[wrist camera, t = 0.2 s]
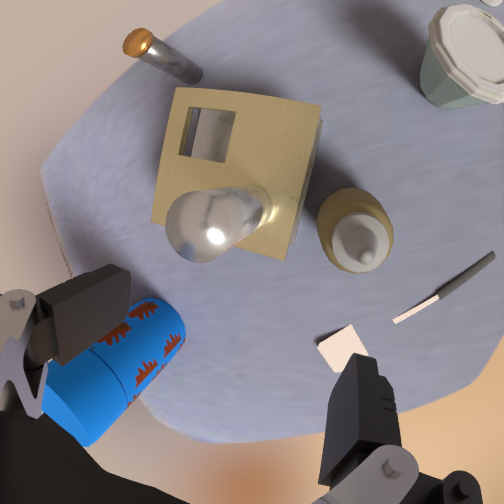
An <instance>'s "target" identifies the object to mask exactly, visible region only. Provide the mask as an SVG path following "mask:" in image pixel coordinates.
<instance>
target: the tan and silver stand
mask: <svg viewBox="0 0 504 504" xmlns="http://www.w3.org/2000/svg"><path fill="white" fill-rule="evenodd" d="M193 108H195V109H201V112H200V117H199V121H198V125H197V130H196V135H195V139H194V144H193V149H192V154H191V157H189V156H183V154H184V149H185V144H186V140H187V135H188V130H189V126H190V121H191V117H192V113H193ZM320 114H321V106H319V105H314V104H310V103H305V102H300V101H295V100H290V99H284V98H278V97H272V96H266V95H259V94H252V93H244V92H236V91H227V90H216V89H203V88H185V87H176V90H175V94H174V98H173V102H172V106H171V111H170V115H169V120H168V124H167V129H166V133H165V138H164V143H163V148H162V154H161V159H160V165H159V170H158V176H157V182H156V189H155V195H154V202H153V209H152V217H151V222H153V223H156V224H160V225H163V226H166V233H167V237H168V240H169V242H170V244H171V246H172V247H173V249H174V250H175V251H176V252H177V253H178V254H179V255H180V256H182V257H183V258H185V259H187V260H189V261H192V262H196V263H205V262H209V261H212V260H214V259H216V258H217V257H218V256H220V255H221V254H223V253H224V252H226V251H227V250H228V249H230V248H231V247H233V246H235V247H238V248H241V249H245V250H248V251H252V252H255V253H259V254H262V255H265V256H269V257H272V258H276V259H279V260H282V261H284V260H285V258H286V255H287V251H288V247H289V244H292V245H293V244H294V241H295V238H296V234H297V230H298V226H299V222H300V218H301V214H302V210H303V206H304V203H305V198H306V194H307V190H308V186H309V182H310V178H311V174H312V170H313V165H314V161H315V157H316V153H317V148H318V144H319V139H320V135H321V131H322V126H323V120H319V118H320Z"/></svg>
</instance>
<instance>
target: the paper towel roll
mask: <svg viewBox="0 0 504 504" xmlns="http://www.w3.org/2000/svg"><path fill="white" fill-rule="evenodd" d="M481 1H482V2H484V3H485V4H487V5H489V6H493V7H495V6H498V5H499V4H500V3H501V2H502V1H503V0H481Z"/></svg>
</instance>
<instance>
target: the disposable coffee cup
mask: <svg viewBox="0 0 504 504" xmlns="http://www.w3.org/2000/svg"><path fill="white" fill-rule="evenodd" d="M428 28H429V38H428V43H427V47H426V51H425V55H424V59H423V63H422V66H421V70H420V74H419V75H420V87H421V89H422V91H423V93H424V94H425V96H426V98H427V99H428V100H429V101H430V102H432V103H433V104H434V105H435V106H436V107H439V108H443V109H446V110H454V109H459V108H464V107H470V106H476V105H481V104H488V103H493V104H498V103H501V102H504V26H503V25H502V24H501V23H499V22H498V21H497V20H496V19H495V18H494V17H493V16H491V15H490V14H488V13H487V12H485V11H483V10H481V9H479V8H476V7H474V6H471V5H469V4H466V3H464V4H458V5H452V6H448V7H444V8H441V9H440V10H439V11H437V13H436V14H435V16H434V17H433V19H432V20H431V22H430V23H429V25H428Z"/></svg>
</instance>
